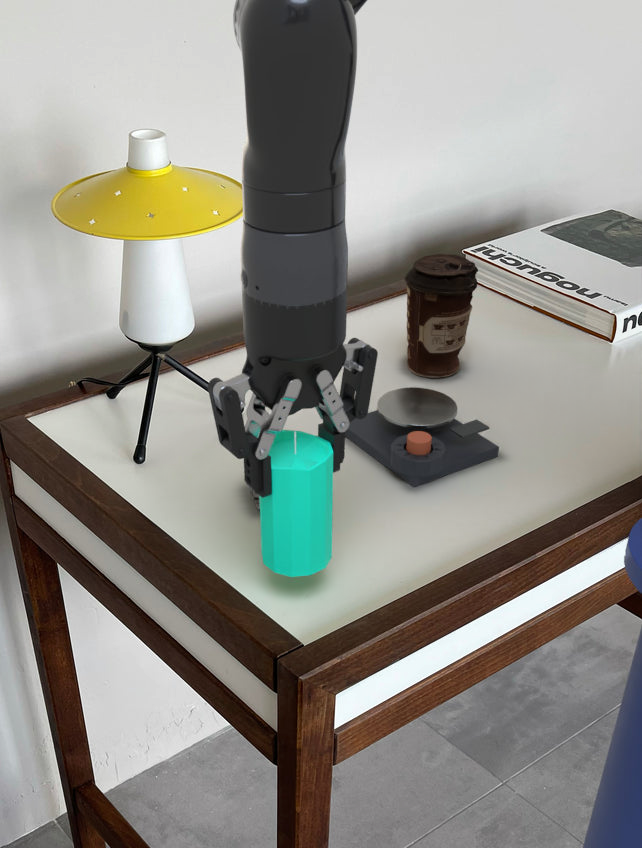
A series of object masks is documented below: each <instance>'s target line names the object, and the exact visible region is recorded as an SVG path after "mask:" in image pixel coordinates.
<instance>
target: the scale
mask: <svg viewBox="0 0 642 848" xmlns="http://www.w3.org/2000/svg"><path fill="white" fill-rule="evenodd" d="M462 424H463V423H462V422H461V421H459V420H458V419H456V418H454V419H453V420H452V421H451V422H449V423H447V424H445V425H442V426H439V427H434V428H424V429H419V428H408V427H403V426H399V425H396V424H393V423H391V422H389V421H387V420H386V419H384V418H383V417H382V416H381V415H380V414H379V412H378V410H377V409H376V410H373V411H370V412H368V414H367V415H366V417H365V418H363V419H357V418H356V419H354V420H353V421H351V422H350V425H349V427H348V429H347V430H346V431H345V438H347V439H348V440H349V441H351V442H352V443H354V444H355V445H356V446H358V448H360V449H361V450H363V451H365V452H366V453H367V454H368V455H370V456H371V457H372V458H373V459H375V460H376V461H377V462H379V463H380V464H382V465H383V466H385V467H386V468H387V469H389V470H390V471H392V472H393V473H394V474H395V475H397V476H398V477H400V478H401V479H402V480H404V482H406V483H408V484H409V485H410V486H411V487H413V488H415V487H418V486H421V485H423V484H426V483H429V482H431V481H434V480H437V479H441V478H443V477H445V476H448V475H451V474H453V473H456V472H460V471H462V470H464V469H467V468H470V467H473V466H476V465H478V464H481V463H483V462H486V461H489V460H492V459H495V458H497V457H499V449H500V446H499V445H497V444H495V443H494V442H492V441H491V440H489V439H488V438H486V437H484V436H482V435H481V433H477V434H474V435H471V436H468V437H465V438H461V437H459V436H458V435H456V434H455V433H453V432H452V431H450V428H453V427H456V426H459V425H462ZM414 431H423V432H426V433H428V434H430V435H431V437H432V440H431V451H430V453H429V454H426V455H414V454H410V453H408V452H407V450H406V445H407V436H408V434H409V433H411V432H414Z"/></svg>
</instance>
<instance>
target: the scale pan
mask: <svg viewBox="0 0 642 848" xmlns="http://www.w3.org/2000/svg"><path fill="white" fill-rule="evenodd" d="M376 410H378V412H379V414H380V415H381V416H382V417H383V418H384V419H386V420H387V421H389V422H391V423H393V424H396V425H399V426H403V427H408V428H419V429H424V428H434V427H439V426H442V425H445V424H447V423H449V422H451V421H452V420H453V419H456V417H457V415H458V410H459V409H458V404H457V403H456V401H455V400H454V399H453V398H452V397H451V396H449V395H448V394H446V393H444V392H441V391H438V390H436V389H431V388H425V387H400V388H397V389H392V390H389V391H388V392H385V393H384V394H382V395H381V396H380V397H379V398H378V400H377V403H376ZM490 429H491V428H490V426H488V425H487V424H485V423H483V422H482V421H481V420H479V419H478V418H477V419H474V420H470V421H468V422H465V423H462V425H459V426H456V427H453V428H450V431H452V432H453V433H455V434H456V435H458V436H459V437H461V438H465V437H468V436H471V435H474V434H477V433H478V434H481V433H482V432H485V431H487V430H490Z"/></svg>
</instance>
